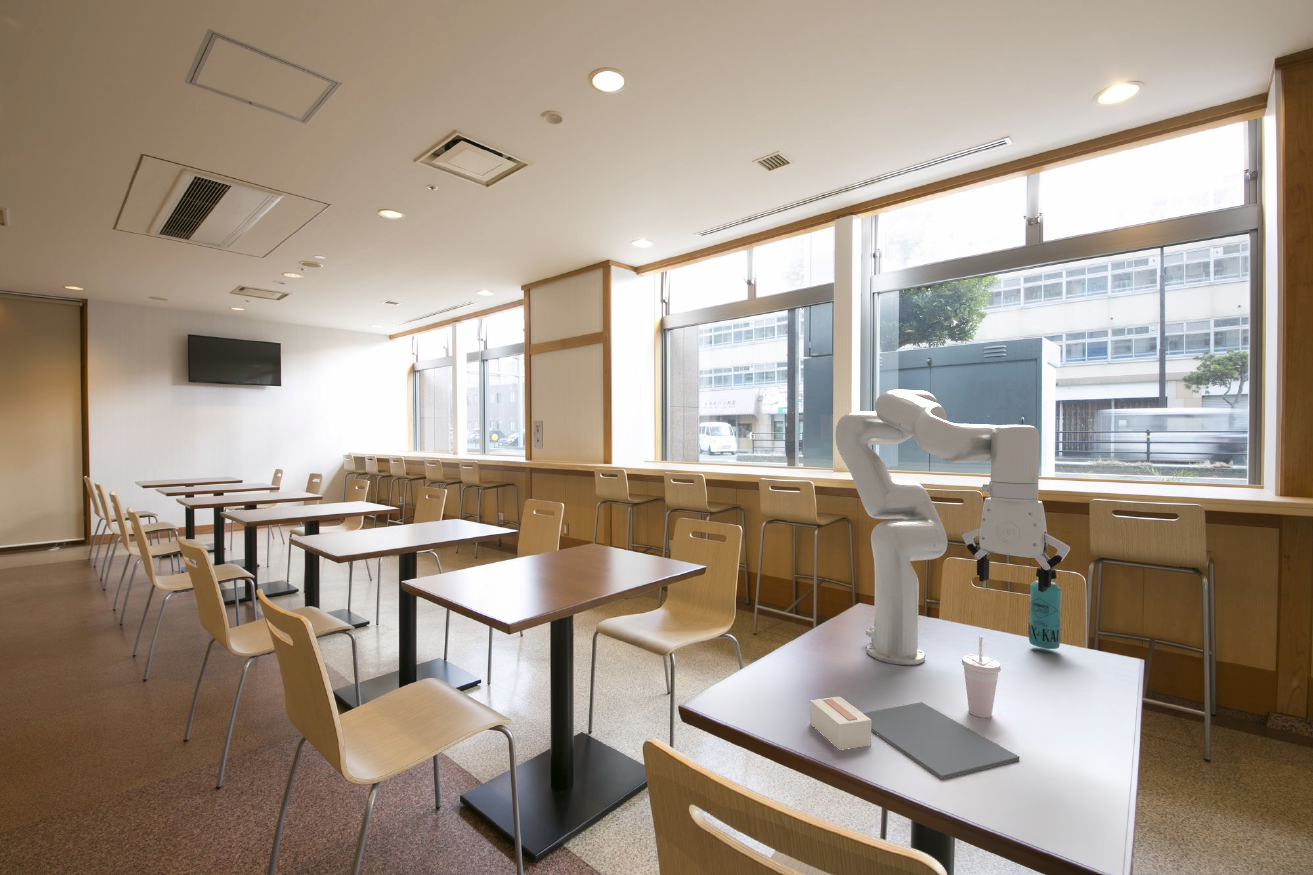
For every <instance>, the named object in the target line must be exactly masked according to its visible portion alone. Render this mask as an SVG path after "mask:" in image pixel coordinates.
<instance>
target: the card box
mask: <svg viewBox="0 0 1313 875" xmlns="http://www.w3.org/2000/svg"><path fill="white" fill-rule="evenodd" d="M809 702H810V703H809V725H810V724H811V725H812V726H813V727H815V728H814V730H816V729H817V730H818V731H819V732H821V734H823V735H824V736H825V737H826V738H827V739H828V740H830V742H832V744H834V746H833V747H835V746H836V747H837V748H838V749H839V750H842V749H848V748H854V749H857V748H856V747H861V746H867V747H870V746H869V745H871V746H872V731H871V719H870V718H868V717H867V716H866V715H864V714H863V713H864V712H862V711H860V710H859V709H858V708H856V707H855V706H853V705H852V703H850V702H848V701H847V700H846V699H844V698H843V697H841V695H839V696H833V697H832V696H831V697H825V698H816V699H810V700H809ZM811 725H810V726H811ZM812 726H811V727H812ZM813 727H812V728H813ZM817 730H816V731H817ZM818 731H817V732H818ZM819 732H818V733H819ZM821 734H820V735H821ZM825 737H824V738H825ZM826 738H825V739H826ZM827 739H826V740H827ZM828 740H827V741H828ZM830 742H829V743H830ZM832 744H831V745H832ZM836 747H835V748H836ZM837 748H836V749H837ZM861 748H862V747H861ZM838 749H837V750H838ZM839 750H838V751H839ZM848 750H849V749H848ZM842 751H843V750H842Z"/></svg>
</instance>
